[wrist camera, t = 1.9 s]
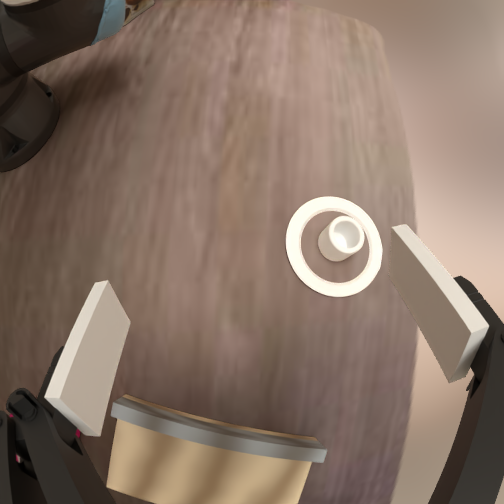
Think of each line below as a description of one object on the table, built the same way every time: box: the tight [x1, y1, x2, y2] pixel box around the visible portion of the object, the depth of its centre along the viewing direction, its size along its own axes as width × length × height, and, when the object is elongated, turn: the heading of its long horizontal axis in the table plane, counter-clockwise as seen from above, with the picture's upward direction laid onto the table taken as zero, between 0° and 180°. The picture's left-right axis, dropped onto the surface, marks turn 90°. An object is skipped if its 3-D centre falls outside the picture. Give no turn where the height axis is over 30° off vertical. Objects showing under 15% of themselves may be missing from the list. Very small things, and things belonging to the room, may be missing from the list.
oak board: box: [107, 394, 327, 504], centre depth 26 cm, size 21×12×4 cm, turn 77°
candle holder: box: [286, 197, 382, 297], centre depth 35 cm, size 12×12×4 cm
